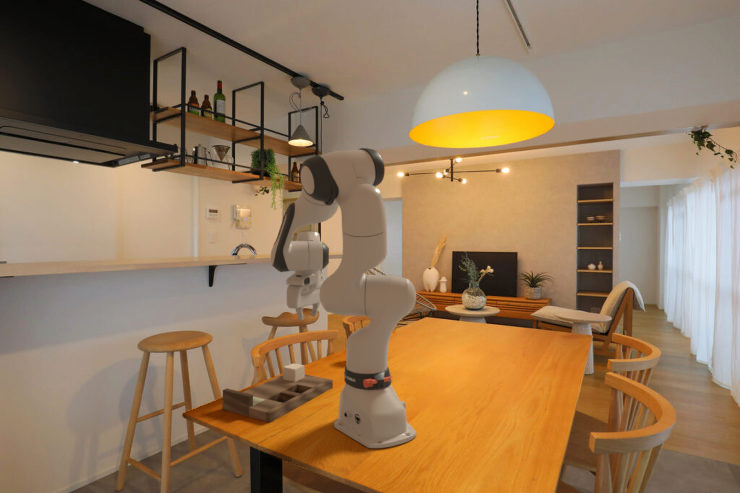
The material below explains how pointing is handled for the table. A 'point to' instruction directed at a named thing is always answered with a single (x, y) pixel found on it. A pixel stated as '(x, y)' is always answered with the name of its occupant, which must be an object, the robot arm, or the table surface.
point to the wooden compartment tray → (274, 397)
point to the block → (293, 372)
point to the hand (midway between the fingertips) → (307, 317)
